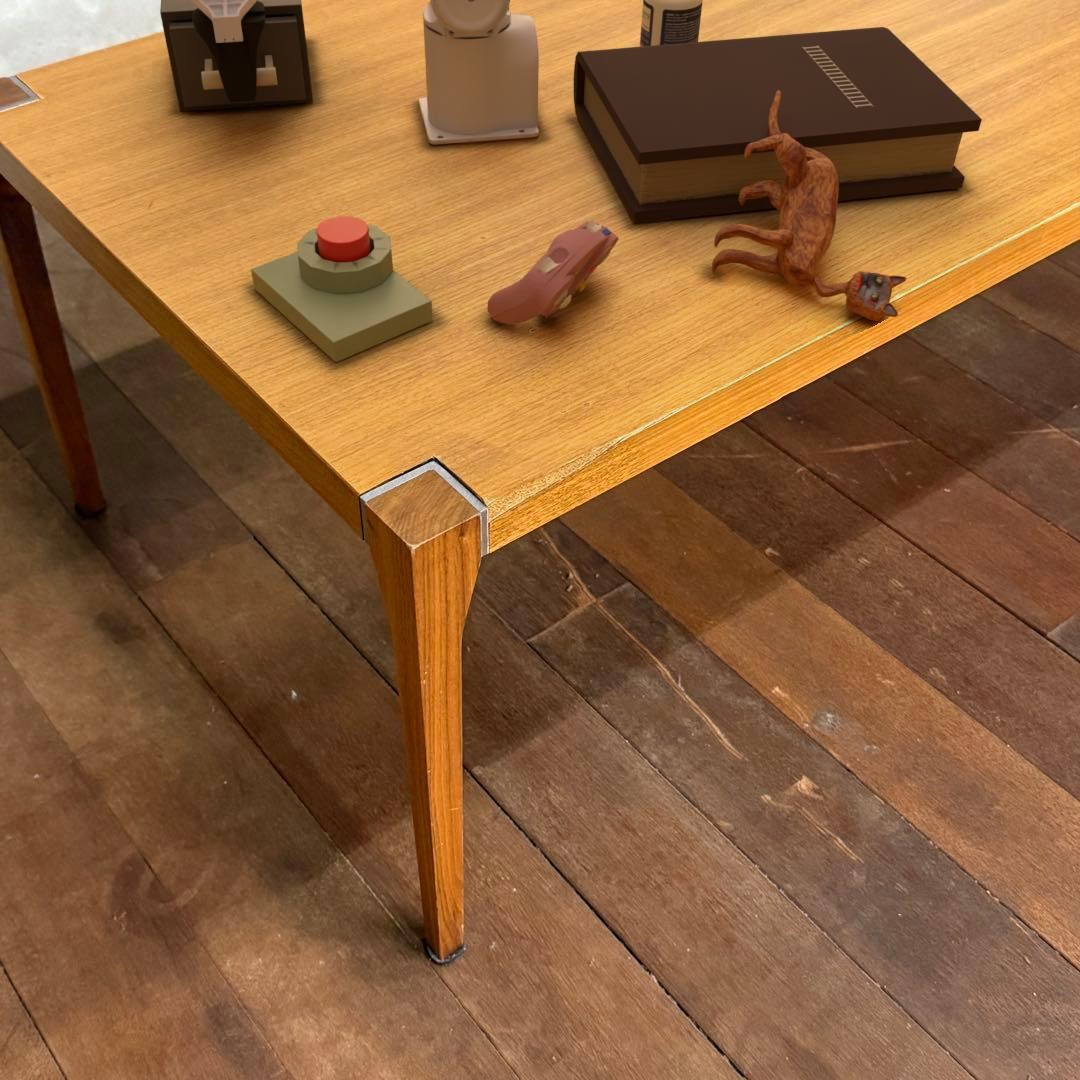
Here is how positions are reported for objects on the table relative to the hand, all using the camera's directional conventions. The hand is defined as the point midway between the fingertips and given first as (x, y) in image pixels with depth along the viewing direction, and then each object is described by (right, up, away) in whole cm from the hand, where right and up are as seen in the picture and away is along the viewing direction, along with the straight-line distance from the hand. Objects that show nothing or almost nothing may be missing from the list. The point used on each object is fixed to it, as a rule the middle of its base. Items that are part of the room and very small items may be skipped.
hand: (242, 96), depth 101 cm
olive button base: (+11, -20, -15) cm, 27 cm away
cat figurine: (+39, -10, -11) cm, 42 cm away
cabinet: (-2, +6, +10) cm, 12 cm away
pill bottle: (+37, +7, +13) cm, 40 cm away
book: (+44, -4, +2) cm, 44 cm away
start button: (+11, -17, -16) cm, 25 cm away
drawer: (-2, +4, +7) cm, 8 cm away
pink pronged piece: (+26, -20, -14) cm, 36 cm away
